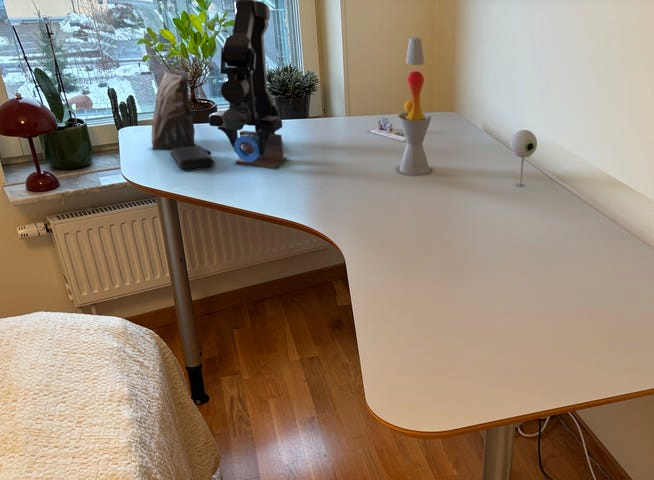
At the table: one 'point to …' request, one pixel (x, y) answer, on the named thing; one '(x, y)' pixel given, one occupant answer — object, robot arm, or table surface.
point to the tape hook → (265, 152)
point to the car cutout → (388, 130)
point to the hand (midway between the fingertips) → (249, 153)
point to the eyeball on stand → (523, 146)
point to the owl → (172, 115)
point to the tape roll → (243, 154)
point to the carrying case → (192, 158)
